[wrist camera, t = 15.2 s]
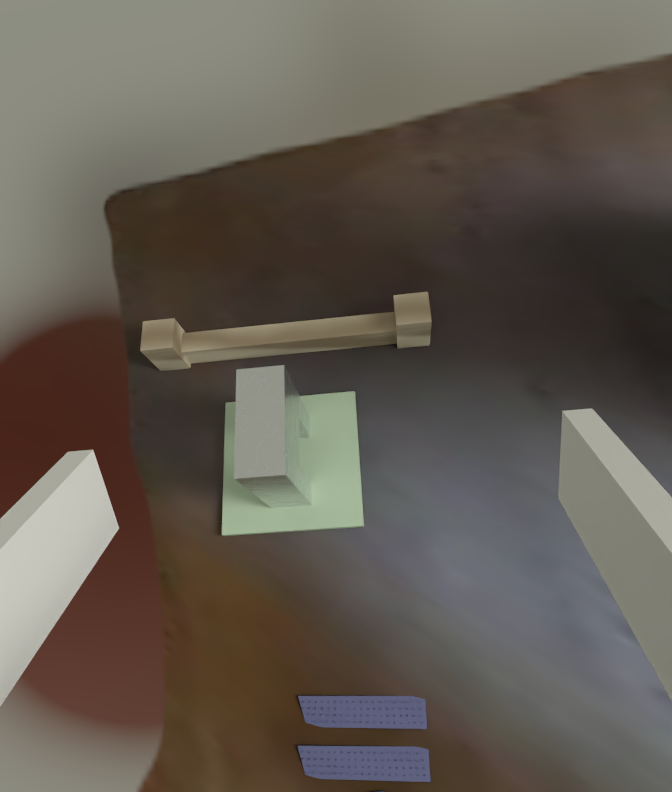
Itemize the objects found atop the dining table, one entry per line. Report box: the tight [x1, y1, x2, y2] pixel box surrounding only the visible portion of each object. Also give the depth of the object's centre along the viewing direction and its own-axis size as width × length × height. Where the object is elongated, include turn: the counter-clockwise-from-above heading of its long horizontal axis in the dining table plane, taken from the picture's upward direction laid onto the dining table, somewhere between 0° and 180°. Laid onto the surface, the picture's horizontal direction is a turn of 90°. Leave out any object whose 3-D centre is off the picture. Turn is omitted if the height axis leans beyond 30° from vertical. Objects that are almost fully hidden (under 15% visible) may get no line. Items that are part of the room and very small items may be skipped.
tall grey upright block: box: [234, 365, 312, 508], centre depth 43 cm, size 8×4×11 cm, turn 3°
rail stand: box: [140, 292, 432, 371], centre depth 51 cm, size 3×26×4 cm, turn 93°
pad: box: [222, 391, 364, 536], centre depth 49 cm, size 12×12×1 cm
